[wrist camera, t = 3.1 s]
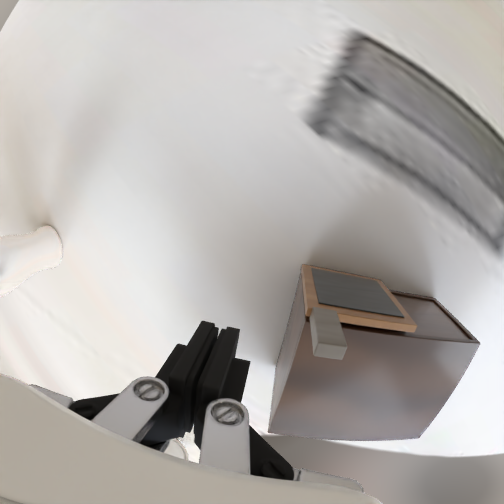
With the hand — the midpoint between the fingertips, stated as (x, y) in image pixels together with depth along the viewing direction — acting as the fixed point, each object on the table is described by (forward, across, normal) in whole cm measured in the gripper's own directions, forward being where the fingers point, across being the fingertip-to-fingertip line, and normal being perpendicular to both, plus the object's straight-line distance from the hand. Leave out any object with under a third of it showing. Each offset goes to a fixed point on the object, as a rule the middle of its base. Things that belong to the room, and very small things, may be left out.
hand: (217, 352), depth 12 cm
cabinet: (+16, -12, +7) cm, 21 cm away
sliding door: (+15, -8, 0) cm, 18 cm away
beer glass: (+16, +28, +5) cm, 33 cm away
